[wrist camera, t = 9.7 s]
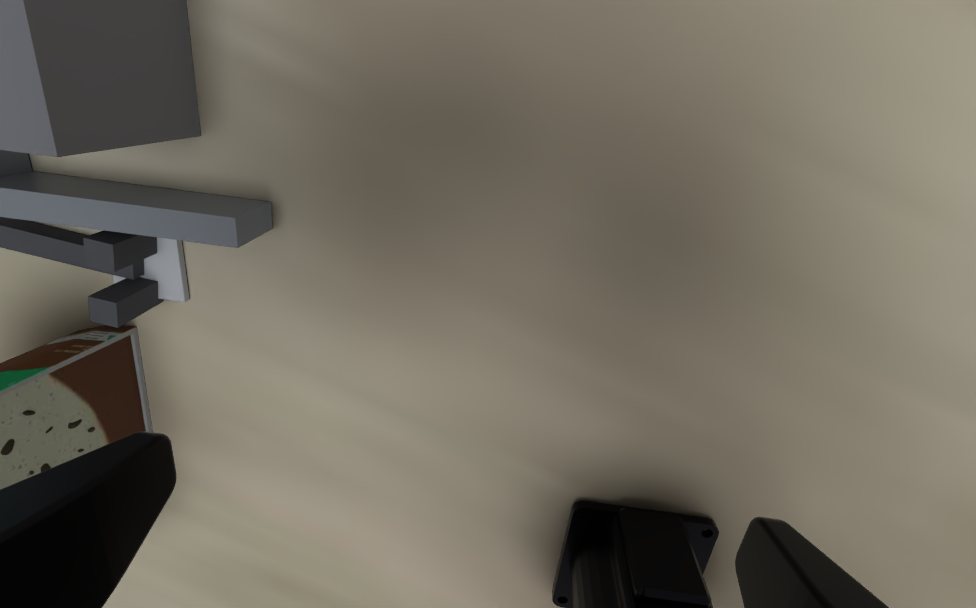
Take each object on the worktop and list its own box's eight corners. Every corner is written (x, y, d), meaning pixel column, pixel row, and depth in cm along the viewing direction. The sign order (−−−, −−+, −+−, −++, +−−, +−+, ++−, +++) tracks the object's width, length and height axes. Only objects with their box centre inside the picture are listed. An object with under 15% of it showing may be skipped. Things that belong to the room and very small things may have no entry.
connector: (201, 137, 18) (54, 159, 12) (64, 120, 18) (-144, 134, 12) (183, -32, 16) (-3, -97, 10) (28, -51, 16) (-239, -125, 10)
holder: (272, 228, 19) (238, 247, 17) (12, 194, 19) (-57, 209, 17) (251, -142, 15) (200, -185, 12) (-85, -181, 15) (-197, -230, 13)
